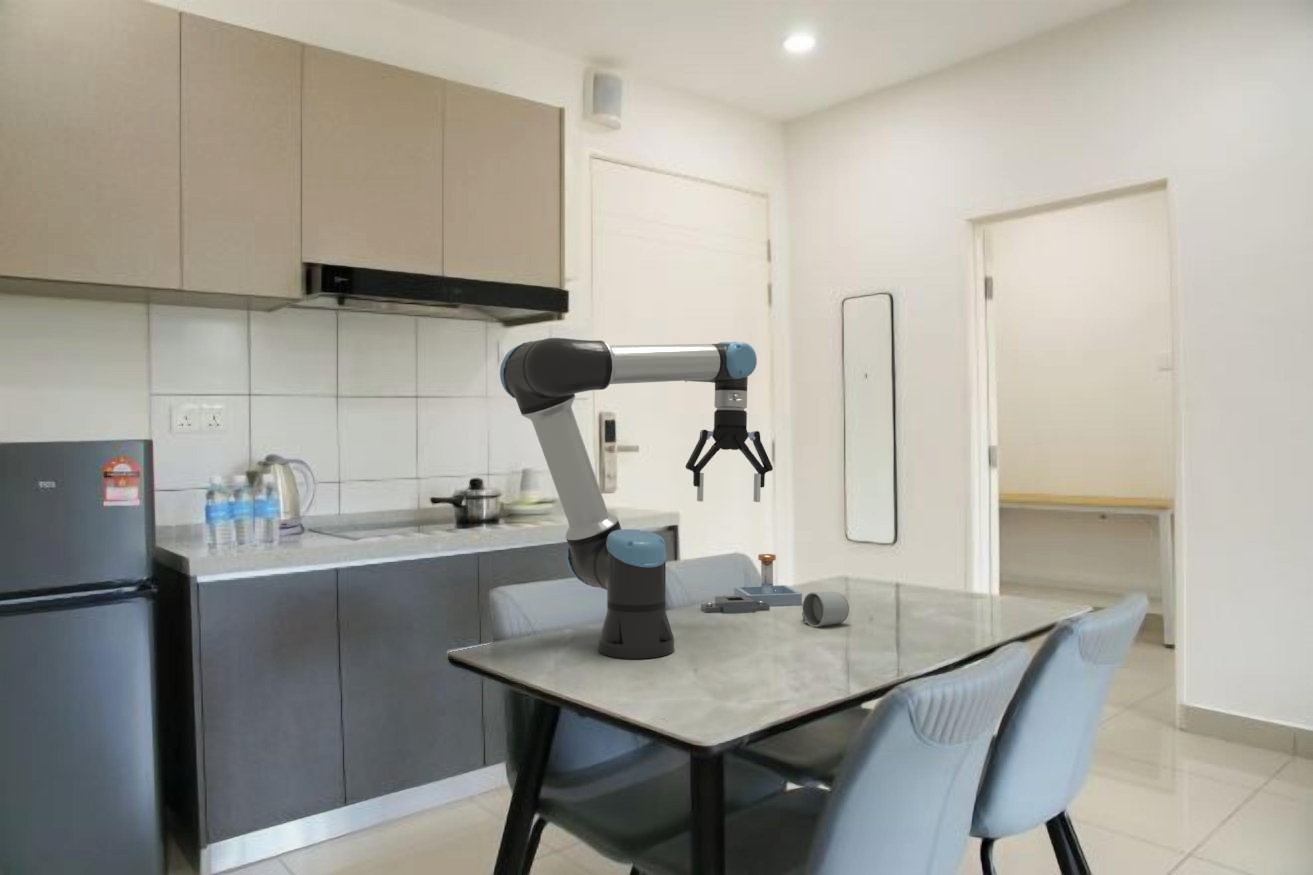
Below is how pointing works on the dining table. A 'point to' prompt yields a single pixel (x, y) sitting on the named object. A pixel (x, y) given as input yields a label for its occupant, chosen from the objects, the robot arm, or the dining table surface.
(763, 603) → the grey holder base
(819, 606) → the ceramic mug
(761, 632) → the dining table surface
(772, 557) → the pin
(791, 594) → the tray
